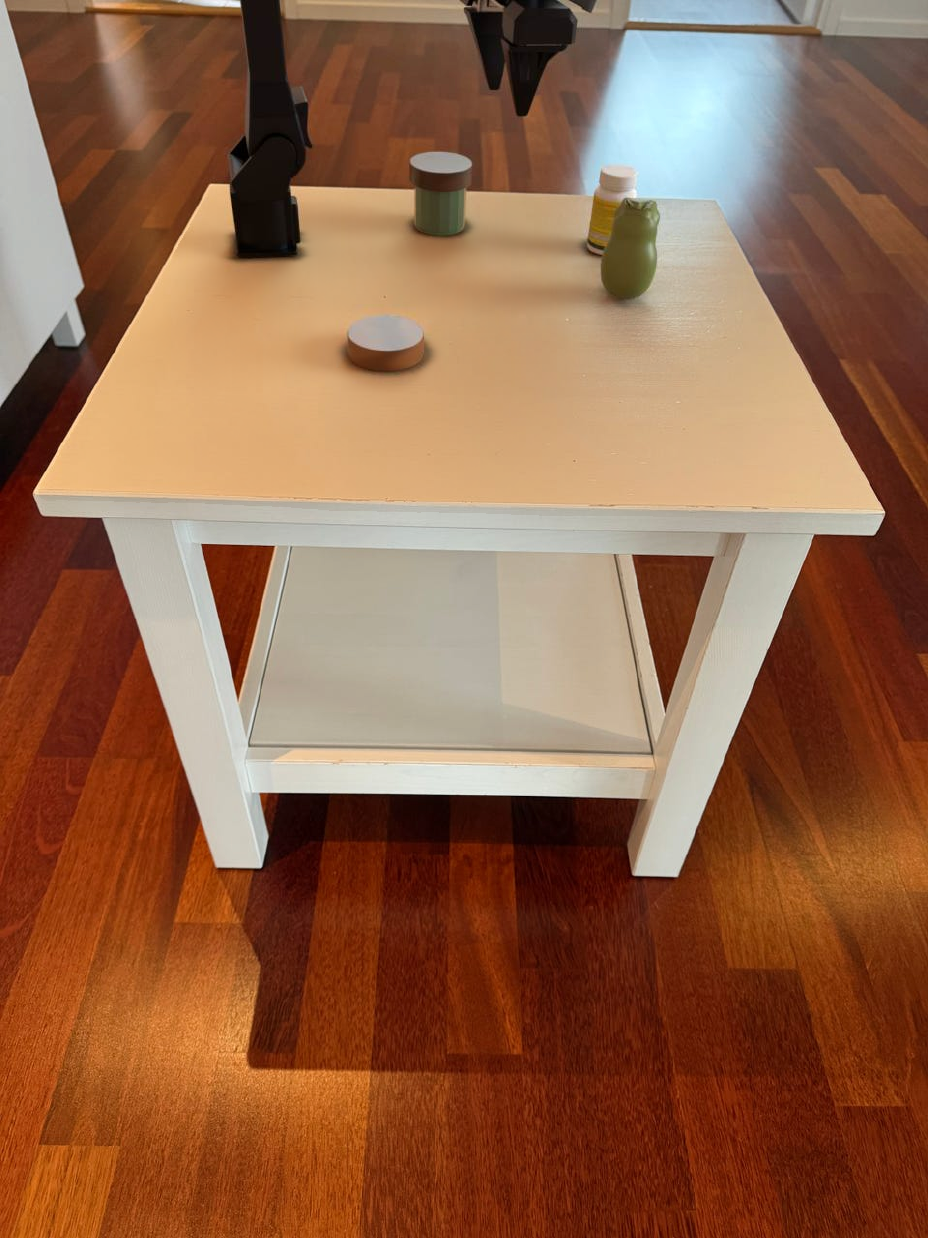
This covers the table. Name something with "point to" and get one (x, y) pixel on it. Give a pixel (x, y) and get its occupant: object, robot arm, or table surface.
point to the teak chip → (385, 342)
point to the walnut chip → (440, 171)
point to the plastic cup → (439, 211)
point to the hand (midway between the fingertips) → (507, 102)
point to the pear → (631, 249)
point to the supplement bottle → (609, 202)
